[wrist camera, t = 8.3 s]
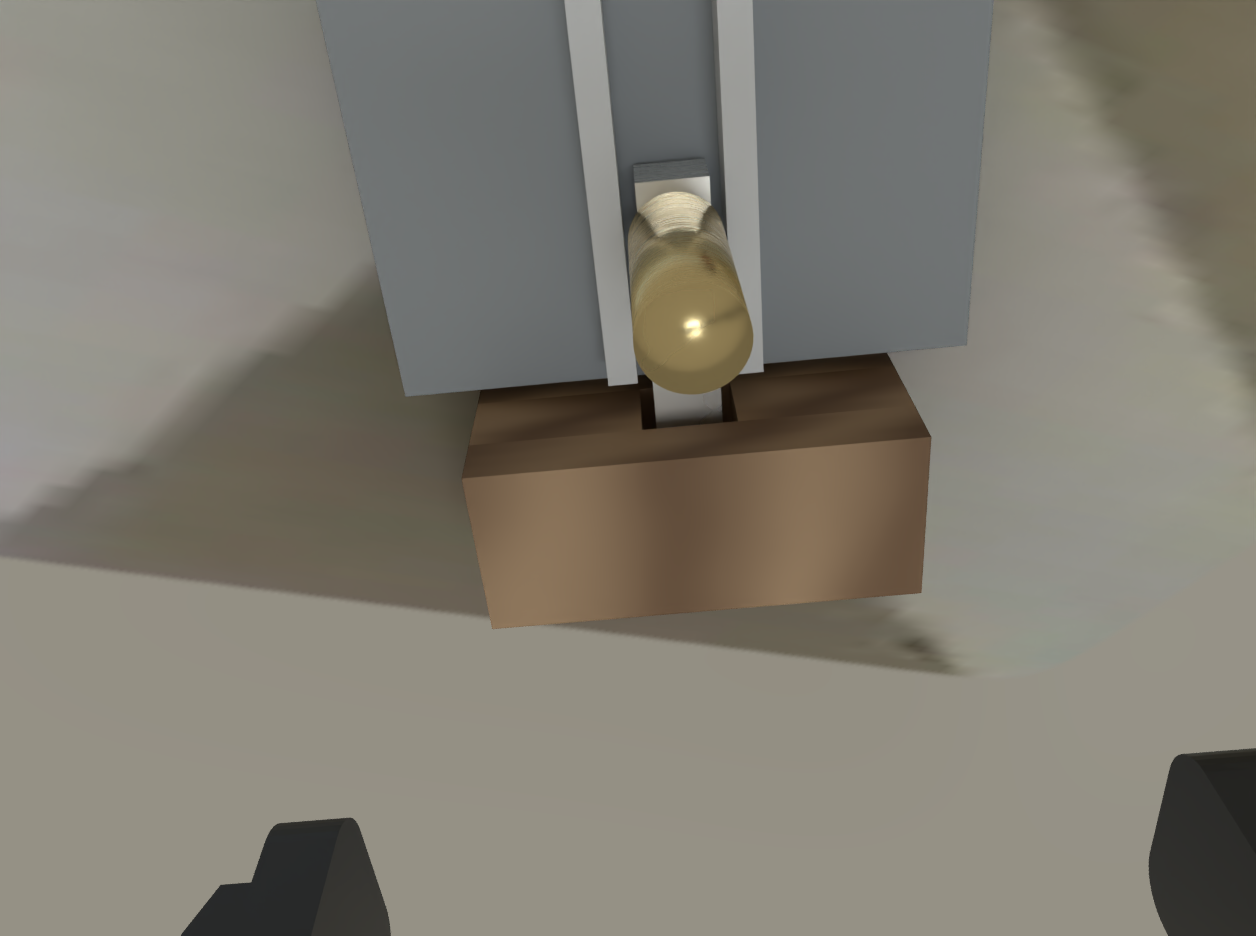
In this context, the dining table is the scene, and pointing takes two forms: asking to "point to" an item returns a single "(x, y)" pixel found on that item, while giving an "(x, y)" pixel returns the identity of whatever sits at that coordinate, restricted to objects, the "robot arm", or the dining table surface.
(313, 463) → the dining table surface
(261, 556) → the dining table surface
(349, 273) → the dining table surface
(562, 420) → the jamb keeper
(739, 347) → the bolt
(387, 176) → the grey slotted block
